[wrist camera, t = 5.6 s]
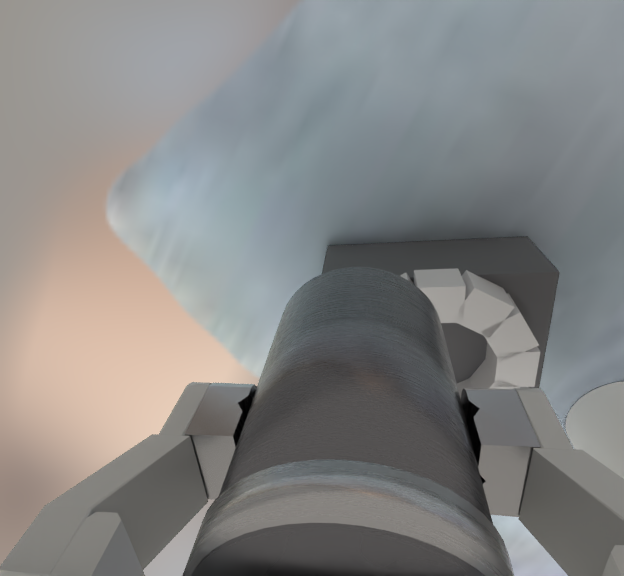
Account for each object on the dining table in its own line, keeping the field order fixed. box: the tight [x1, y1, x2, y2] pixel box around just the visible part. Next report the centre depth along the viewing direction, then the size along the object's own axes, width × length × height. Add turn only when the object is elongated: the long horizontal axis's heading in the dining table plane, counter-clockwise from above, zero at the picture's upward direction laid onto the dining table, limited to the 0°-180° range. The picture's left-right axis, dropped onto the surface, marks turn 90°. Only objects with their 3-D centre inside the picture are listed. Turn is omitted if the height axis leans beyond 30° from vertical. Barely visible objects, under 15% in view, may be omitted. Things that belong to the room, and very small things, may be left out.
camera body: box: [322, 236, 559, 399], centre depth 26 cm, size 12×10×7 cm
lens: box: [183, 267, 514, 576], centre depth 9 cm, size 5×5×7 cm
